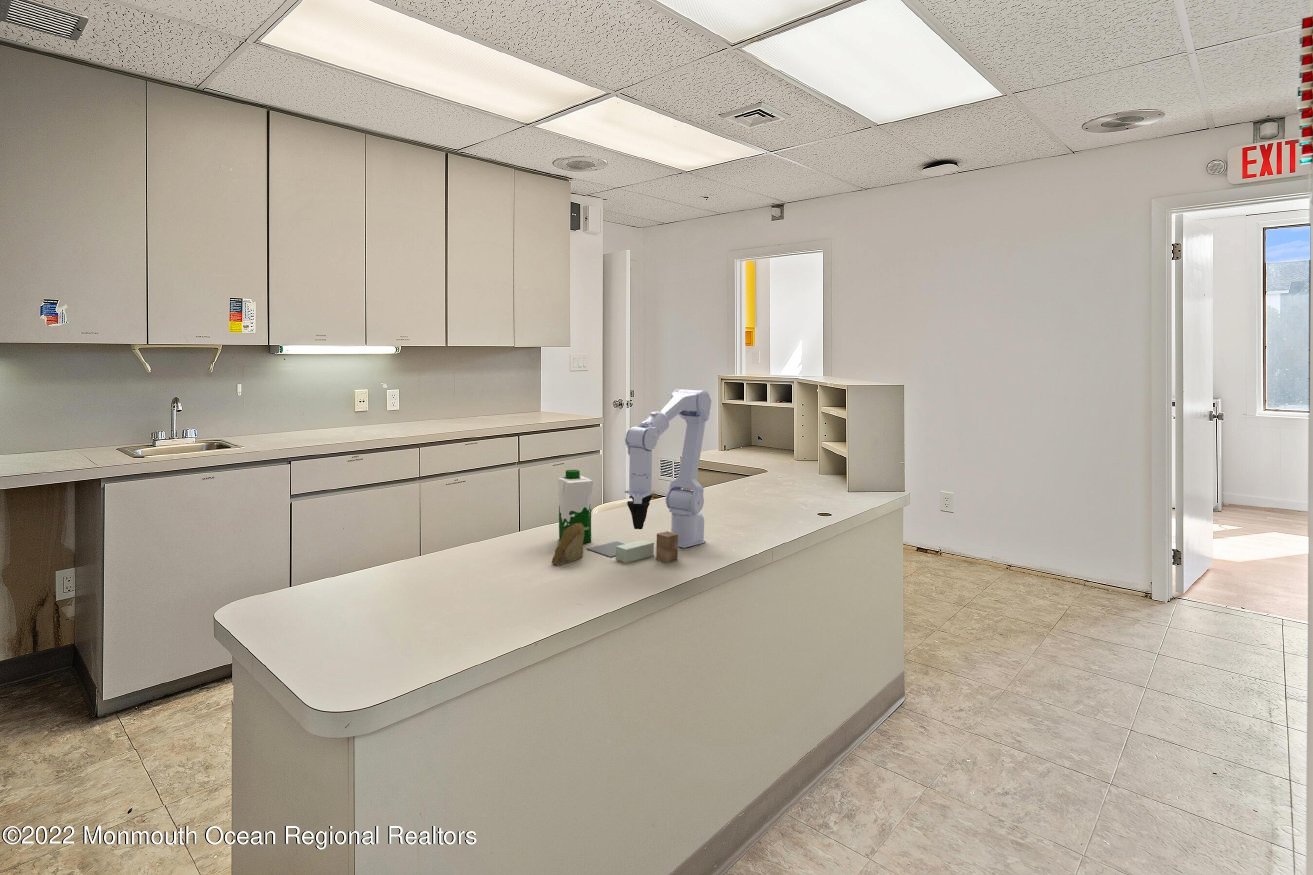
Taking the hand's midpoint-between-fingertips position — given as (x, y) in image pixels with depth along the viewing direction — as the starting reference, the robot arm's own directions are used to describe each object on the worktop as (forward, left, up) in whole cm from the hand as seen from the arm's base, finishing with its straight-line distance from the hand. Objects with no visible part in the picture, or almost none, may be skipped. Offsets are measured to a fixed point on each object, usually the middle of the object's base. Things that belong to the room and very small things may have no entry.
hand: (639, 525), depth 178 cm
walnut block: (-6, +4, -10) cm, 12 cm away
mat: (-2, -12, -10) cm, 15 cm away
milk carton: (+1, -26, -10) cm, 28 cm away
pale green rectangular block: (-1, -3, -10) cm, 10 cm away
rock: (+14, -13, -10) cm, 21 cm away
